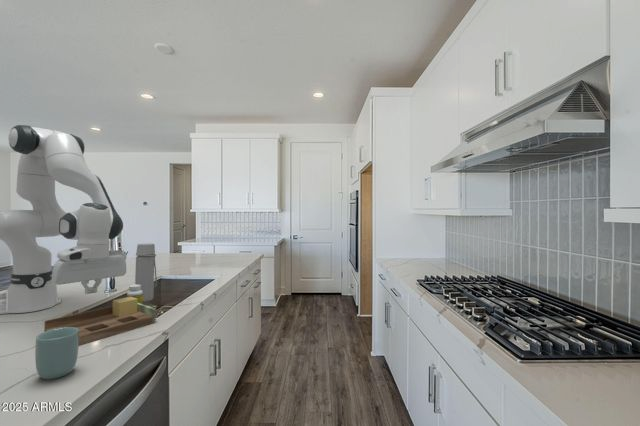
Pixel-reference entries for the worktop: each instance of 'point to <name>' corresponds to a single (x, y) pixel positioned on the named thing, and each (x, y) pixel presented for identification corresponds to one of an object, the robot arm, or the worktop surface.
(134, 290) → the supplement bottle
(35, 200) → the robot arm
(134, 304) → the block
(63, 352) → the cup
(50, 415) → the worktop surface
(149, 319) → the box
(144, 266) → the water bottle
